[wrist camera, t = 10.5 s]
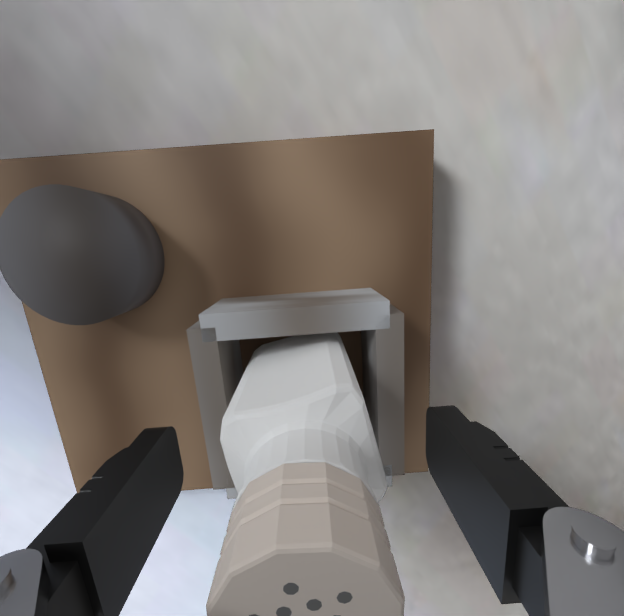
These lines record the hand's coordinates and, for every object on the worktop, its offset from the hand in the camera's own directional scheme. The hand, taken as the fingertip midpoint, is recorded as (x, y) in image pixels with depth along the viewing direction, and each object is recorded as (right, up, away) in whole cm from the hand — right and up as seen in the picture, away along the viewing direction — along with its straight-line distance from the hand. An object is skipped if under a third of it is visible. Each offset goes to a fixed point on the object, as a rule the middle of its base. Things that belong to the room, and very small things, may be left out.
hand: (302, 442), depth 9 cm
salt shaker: (0, +1, +5) cm, 5 cm away
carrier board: (-3, +3, +6) cm, 8 cm away
